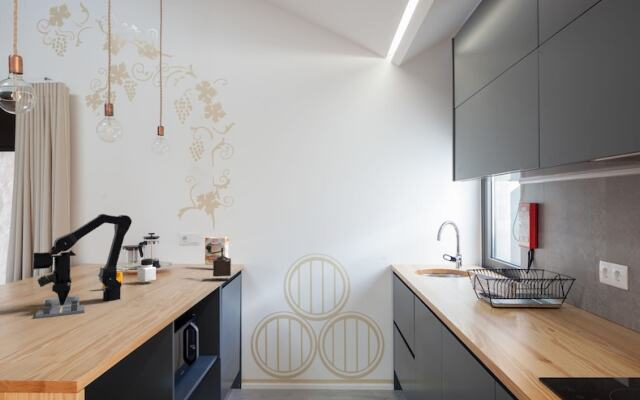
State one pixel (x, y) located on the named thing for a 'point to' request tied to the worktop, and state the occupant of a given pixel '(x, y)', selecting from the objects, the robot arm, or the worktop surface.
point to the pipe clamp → (118, 278)
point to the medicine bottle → (146, 271)
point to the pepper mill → (220, 264)
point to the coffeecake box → (216, 248)
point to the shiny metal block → (68, 302)
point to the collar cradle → (59, 310)
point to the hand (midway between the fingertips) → (62, 304)
